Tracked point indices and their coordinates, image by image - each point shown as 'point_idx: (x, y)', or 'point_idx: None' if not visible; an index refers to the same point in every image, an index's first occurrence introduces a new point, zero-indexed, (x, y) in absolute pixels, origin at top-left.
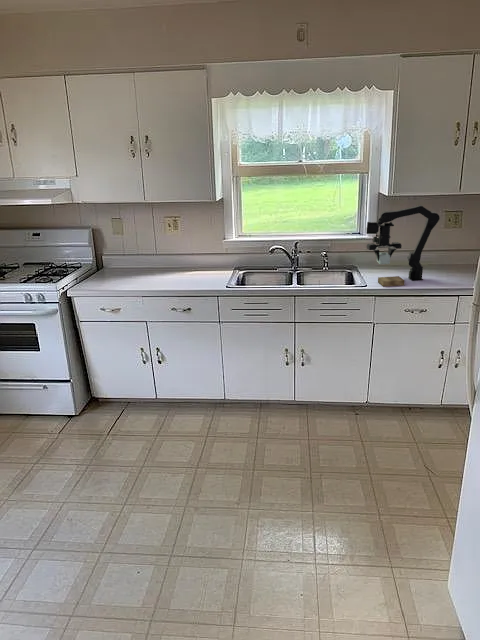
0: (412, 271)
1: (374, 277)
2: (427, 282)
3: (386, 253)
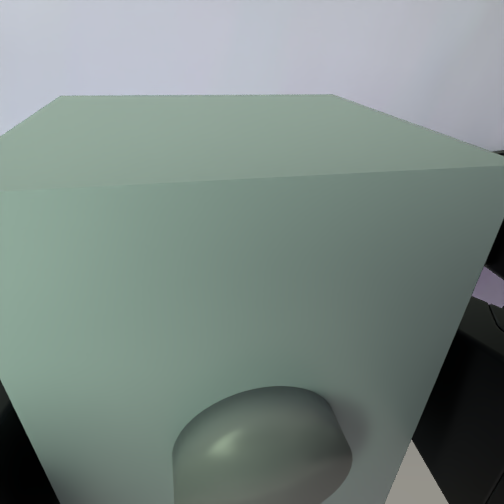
0: (499, 276)
1: (94, 63)
2: (497, 284)
3: (397, 367)
